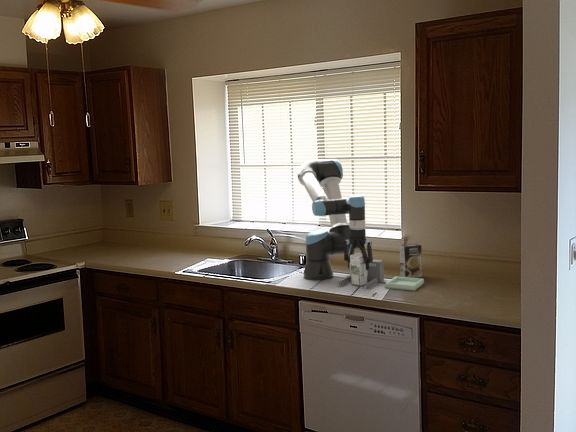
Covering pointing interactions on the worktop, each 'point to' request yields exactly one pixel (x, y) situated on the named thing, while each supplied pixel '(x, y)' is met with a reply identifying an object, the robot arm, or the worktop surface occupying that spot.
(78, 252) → the worktop surface
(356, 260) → the syrup box
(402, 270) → the coffee box
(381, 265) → the bay
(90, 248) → the worktop surface
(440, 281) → the worktop surface
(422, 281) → the tray
